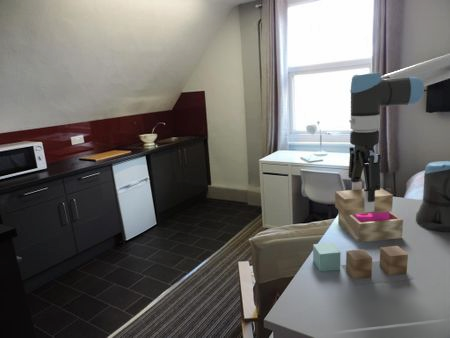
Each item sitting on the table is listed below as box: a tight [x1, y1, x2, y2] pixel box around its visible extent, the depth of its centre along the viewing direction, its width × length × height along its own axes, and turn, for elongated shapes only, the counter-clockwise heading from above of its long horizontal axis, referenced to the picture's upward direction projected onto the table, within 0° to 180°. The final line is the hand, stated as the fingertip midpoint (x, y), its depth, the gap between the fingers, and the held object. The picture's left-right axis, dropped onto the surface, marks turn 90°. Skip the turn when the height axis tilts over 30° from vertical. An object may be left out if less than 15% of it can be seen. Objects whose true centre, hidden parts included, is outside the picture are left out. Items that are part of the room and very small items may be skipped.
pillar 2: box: [379, 245, 409, 276], centre depth 91 cm, size 5×5×6 cm
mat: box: [340, 260, 415, 286], centre depth 91 cm, size 16×10×1 cm, turn 93°
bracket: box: [353, 212, 389, 222], centre depth 116 cm, size 12×10×10 cm
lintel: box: [334, 187, 394, 216], centre depth 96 cm, size 14×7×5 cm, turn 93°
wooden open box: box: [337, 210, 404, 243], centre depth 116 cm, size 15×17×7 cm
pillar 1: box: [345, 248, 373, 279], centre depth 90 cm, size 5×5×6 cm
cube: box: [312, 242, 341, 272], centre depth 96 cm, size 6×6×6 cm
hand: (362, 206), depth 96 cm, fingers closed on lintel, 7 cm apart
